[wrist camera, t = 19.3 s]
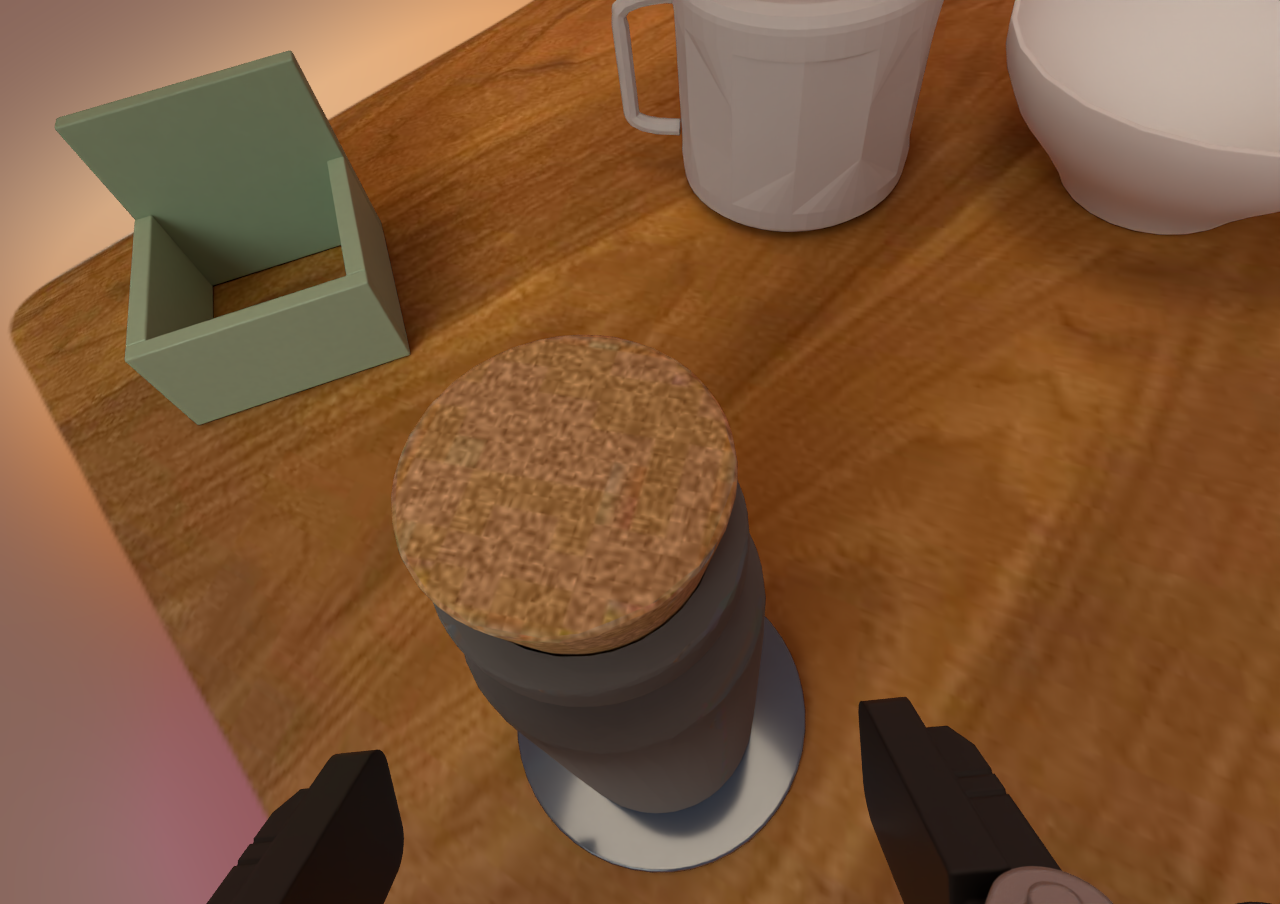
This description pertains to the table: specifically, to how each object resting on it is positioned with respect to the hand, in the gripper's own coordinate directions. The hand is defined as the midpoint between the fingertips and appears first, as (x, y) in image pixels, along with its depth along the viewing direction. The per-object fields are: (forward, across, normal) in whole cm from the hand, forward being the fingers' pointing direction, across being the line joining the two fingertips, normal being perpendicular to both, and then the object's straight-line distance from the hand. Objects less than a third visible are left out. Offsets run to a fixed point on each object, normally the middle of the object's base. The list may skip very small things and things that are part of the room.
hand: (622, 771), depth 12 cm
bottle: (+10, 0, +5) cm, 11 cm away
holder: (+24, +16, -9) cm, 30 cm away
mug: (+28, -8, -13) cm, 32 cm away
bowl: (+25, -24, -9) cm, 36 cm away
